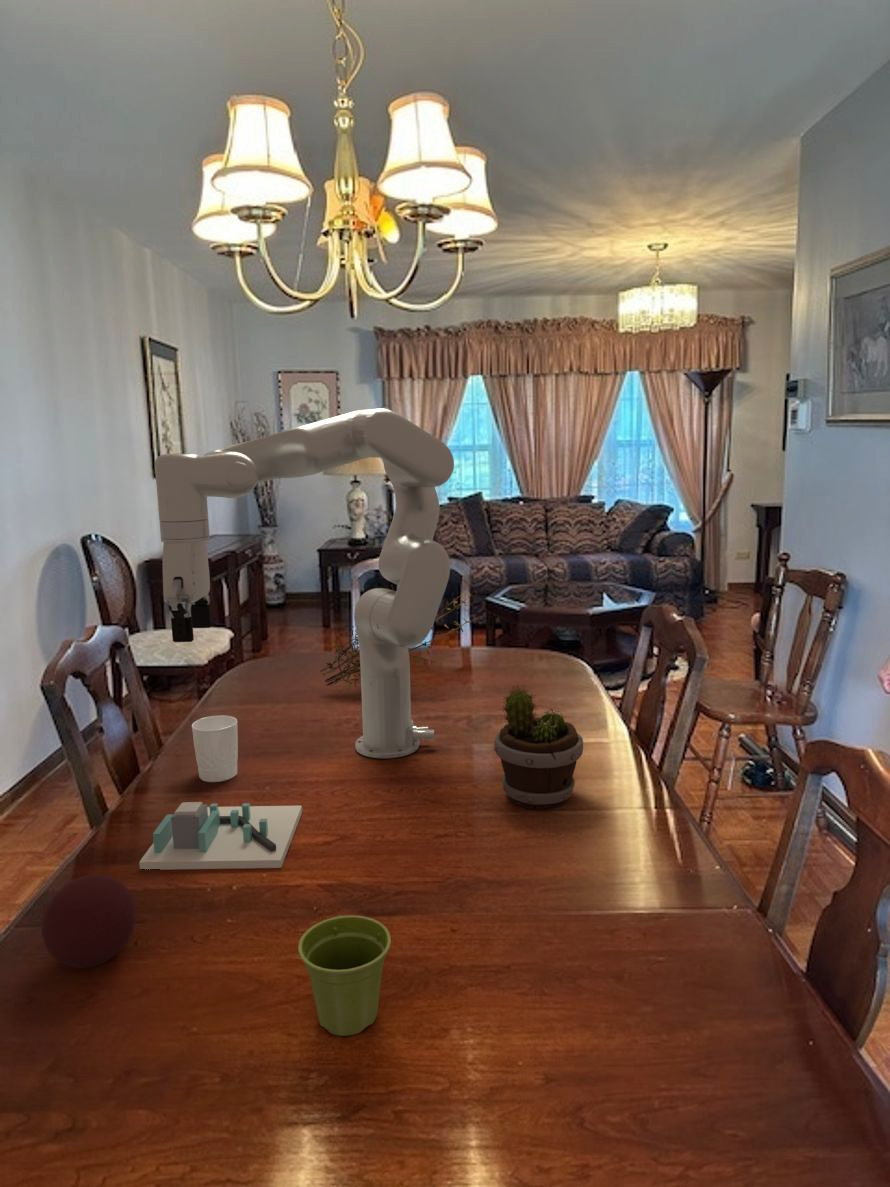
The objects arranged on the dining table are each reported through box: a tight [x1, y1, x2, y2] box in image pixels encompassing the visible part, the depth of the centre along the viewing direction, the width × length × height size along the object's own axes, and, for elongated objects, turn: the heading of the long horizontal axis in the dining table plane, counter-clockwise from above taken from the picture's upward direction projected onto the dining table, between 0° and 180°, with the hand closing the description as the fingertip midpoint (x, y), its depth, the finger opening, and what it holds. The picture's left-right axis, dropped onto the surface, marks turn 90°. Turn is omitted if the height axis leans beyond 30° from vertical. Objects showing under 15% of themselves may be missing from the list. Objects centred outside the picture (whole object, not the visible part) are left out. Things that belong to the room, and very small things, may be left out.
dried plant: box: [320, 580, 480, 696], centre depth 189 cm, size 30×31×45 cm
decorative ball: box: [41, 874, 137, 969], centre depth 91 cm, size 10×10×10 cm
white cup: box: [191, 714, 239, 783], centre depth 142 cm, size 8×8×10 cm
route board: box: [138, 805, 303, 871], centre depth 120 cm, size 20×17×1 cm
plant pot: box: [297, 915, 392, 1037], centre depth 82 cm, size 9×9×9 cm
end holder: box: [152, 813, 218, 853], centre depth 116 cm, size 8×6×3 cm
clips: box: [209, 802, 268, 842], centre depth 120 cm, size 10×8×2 cm
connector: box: [171, 801, 208, 849], centre depth 116 cm, size 4×4×6 cm
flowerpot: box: [493, 681, 584, 810], centre depth 131 cm, size 14×15×20 cm
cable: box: [220, 816, 276, 852], centre depth 119 cm, size 16×6×1 cm, turn 63°
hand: (193, 634), depth 130 cm, fingers open, 9 cm apart
